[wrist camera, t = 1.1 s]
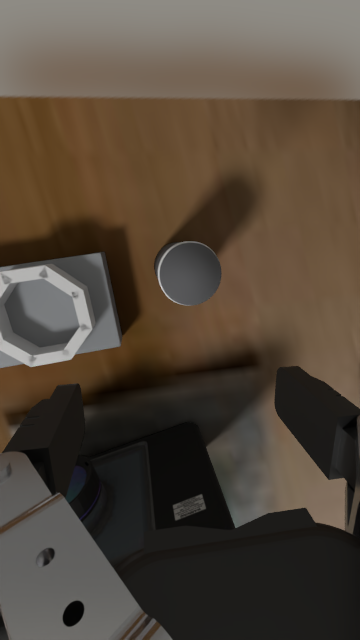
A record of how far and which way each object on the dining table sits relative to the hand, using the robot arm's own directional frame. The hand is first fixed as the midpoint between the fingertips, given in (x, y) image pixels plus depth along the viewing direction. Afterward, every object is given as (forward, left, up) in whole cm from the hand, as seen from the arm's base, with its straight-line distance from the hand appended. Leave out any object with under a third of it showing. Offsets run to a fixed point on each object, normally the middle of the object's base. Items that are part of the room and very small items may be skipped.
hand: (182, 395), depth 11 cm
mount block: (+10, -1, -19) cm, 22 cm away
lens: (-3, -3, -19) cm, 20 cm away
